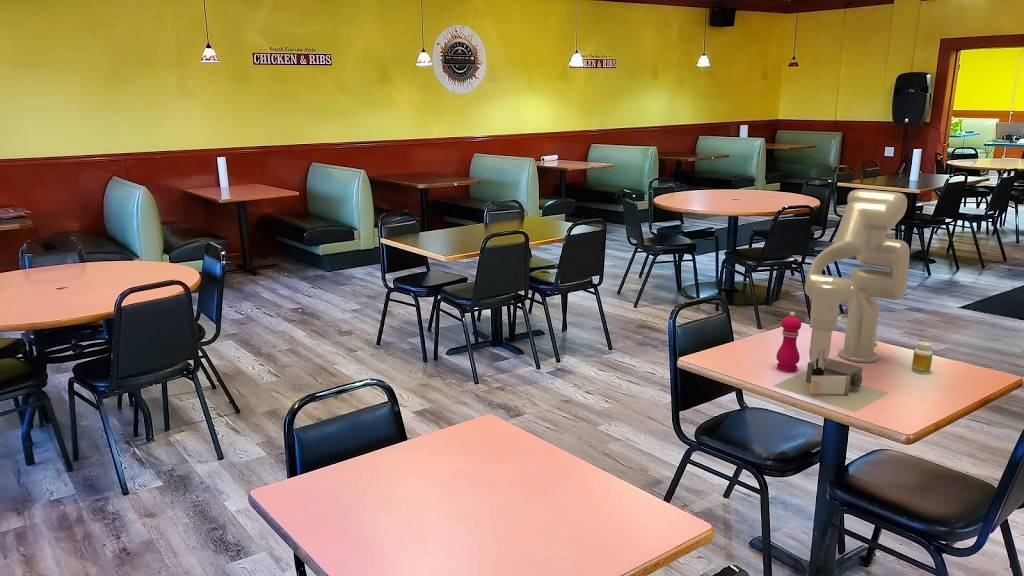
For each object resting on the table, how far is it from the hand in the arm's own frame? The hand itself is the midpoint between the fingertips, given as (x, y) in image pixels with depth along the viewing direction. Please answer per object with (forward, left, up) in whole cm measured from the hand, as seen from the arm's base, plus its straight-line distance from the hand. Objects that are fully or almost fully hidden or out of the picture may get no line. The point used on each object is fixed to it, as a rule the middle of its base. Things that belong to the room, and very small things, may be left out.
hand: (817, 380), depth 231 cm
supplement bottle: (-44, +13, -4) cm, 46 cm away
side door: (0, +4, -3) cm, 5 cm away
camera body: (-10, 0, -4) cm, 10 cm away
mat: (-5, +2, -4) cm, 7 cm away
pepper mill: (-11, -16, -4) cm, 20 cm away
